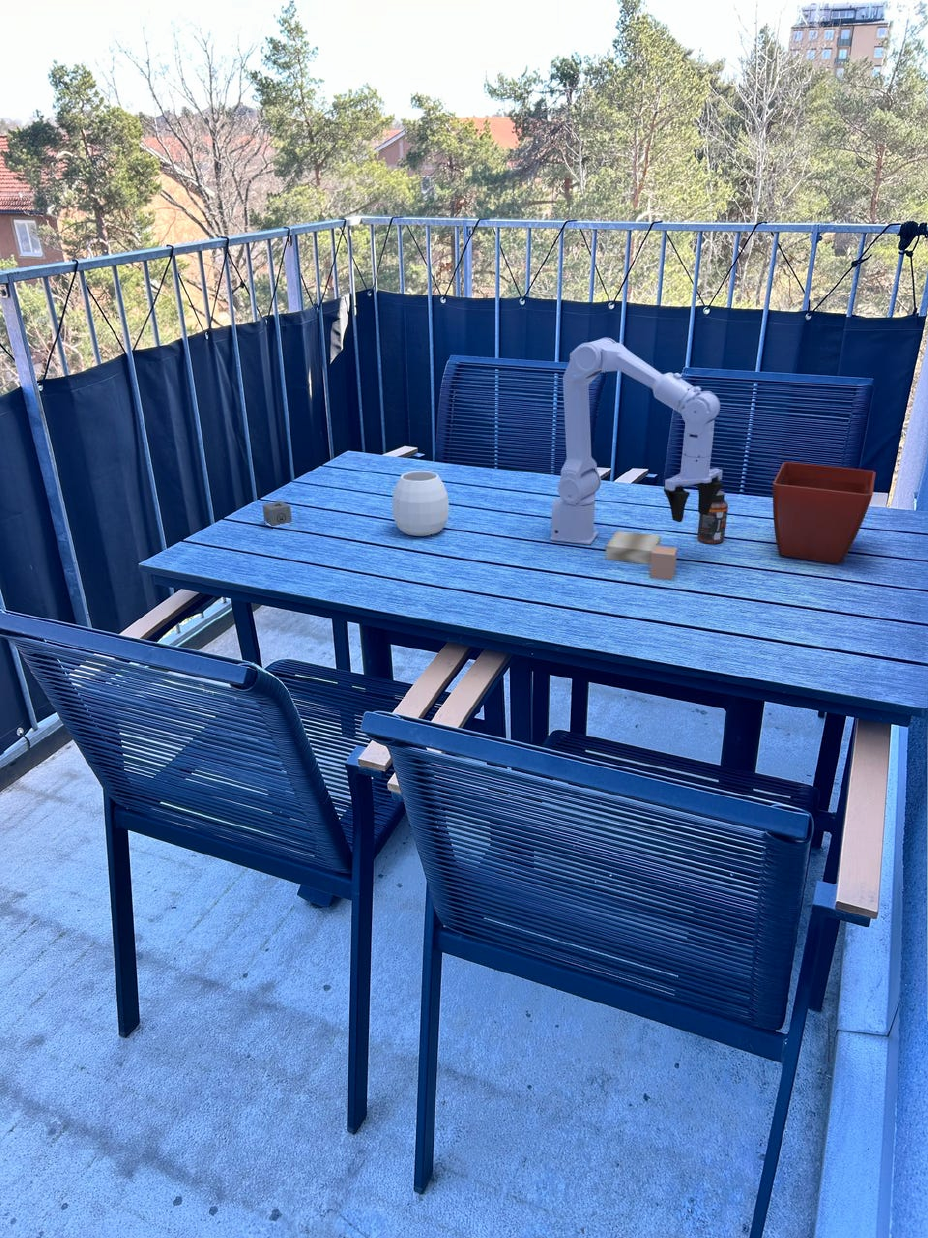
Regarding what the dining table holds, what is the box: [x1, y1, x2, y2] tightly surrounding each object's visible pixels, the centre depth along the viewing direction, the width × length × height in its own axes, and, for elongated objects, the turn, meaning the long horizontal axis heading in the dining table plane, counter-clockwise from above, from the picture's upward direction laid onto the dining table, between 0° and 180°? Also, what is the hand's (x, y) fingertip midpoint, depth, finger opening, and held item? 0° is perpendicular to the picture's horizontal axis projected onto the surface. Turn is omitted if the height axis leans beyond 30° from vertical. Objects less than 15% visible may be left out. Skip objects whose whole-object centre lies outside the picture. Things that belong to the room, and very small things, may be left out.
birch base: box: [605, 530, 662, 565], centre depth 194 cm, size 10×10×3 cm
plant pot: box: [772, 461, 877, 565], centre depth 191 cm, size 19×19×17 cm
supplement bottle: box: [697, 489, 729, 545], centre depth 199 cm, size 6×6×11 cm
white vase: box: [391, 470, 450, 537], centre depth 207 cm, size 13×13×14 cm
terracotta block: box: [649, 545, 678, 581], centre depth 183 cm, size 4×4×6 cm
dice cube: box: [261, 500, 293, 526], centre depth 214 cm, size 5×5×5 cm
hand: (690, 517), depth 186 cm, fingers open, 7 cm apart
